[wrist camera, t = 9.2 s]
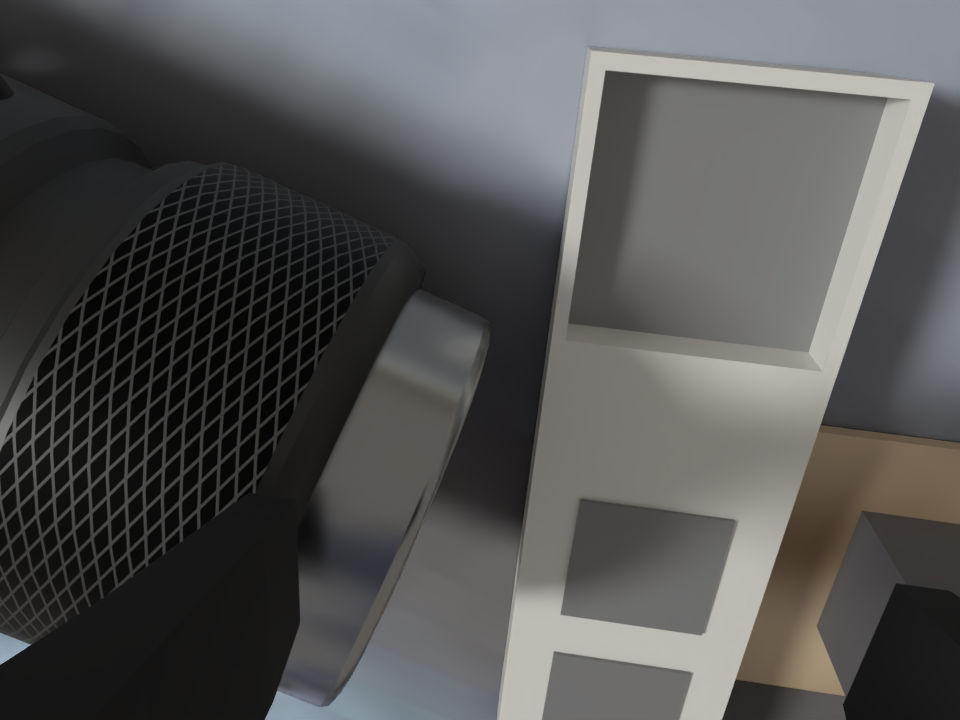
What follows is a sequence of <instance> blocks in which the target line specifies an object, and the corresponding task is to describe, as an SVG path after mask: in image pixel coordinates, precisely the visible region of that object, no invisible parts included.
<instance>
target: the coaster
mask: <svg viewBox="0 0 960 720" xmlns="http://www.w3.org/2000/svg"><path fill="white" fill-rule="evenodd" d="M862 511H869V512H876V513H883V514H890V515H898V516H905V517H912V518H919V519H926V520H933V521H941V522H948V523H955V524H960V443H958V442H950V441H942V440H934V439H926V438H918V437H910V436H903V435H895V434H887V433H879V432H871V431H863V430H855V429H847V428H839V427H831V426H823V425H820V428H819V431H818V434H817V437H816V440H815V443H814V446H813V449H812V452H811V455H810V458H809V461H808V464H807V467H806V470H805V473H804V476H803V479H802V482H801V485H800V488H799V491H798V494H797V497H796V500H795V503H794V506H793V509H792V512H791V515H790V518H789V521H788V524H787V527H786V530H785V533H784V536H783V539H782V542H781V545H780V548H779V551H778V554H777V557H776V560H775V563H774V566H773V569H772V572H771V575H770V578H769V581H768V584H767V587H766V590H765V593H764V596H763V599H762V602H761V605H760V608H759V611H758V614H757V617H756V620H755V623H754V625H753V628H752V631H751V634H750V637H749V640H748V643H747V646H746V649H745V652H744V655H743V658H742V661H741V664H740V667H739V670H738V673H737V676H736V680H742V681H749V682H756V683H762V684H769V685H776V686H782V687H789V688H796V689H802V690H809V691H816V692H822V693H829V694H835V695H842V696H845V694H844V692H843V689H842V687H841V684H840V682H839V680H838V677H837V675H836V672H835V670H834V667H833V665H832V662H831V660H830V658H829V655H828V653H827V650H826V648H825V645H824V643H823V641H822V638H821V636H820V633H819V631H818V628H817V623H818V621H819V618H820V616H821V613H822V611H823V608H824V606H825V603H826V601H827V598H828V596H829V593H830V590H831V588H832V585H833V583H834V580H835V578H836V575H837V573H838V570H839V568H840V565H841V563H842V560H843V558H844V555H845V553H846V550H847V548H848V545H849V542H850V540H851V537H852V535H853V532H854V530H855V527H856V525H857V522H858V520H859V517H860V515H861V512H862Z"/></svg>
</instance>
